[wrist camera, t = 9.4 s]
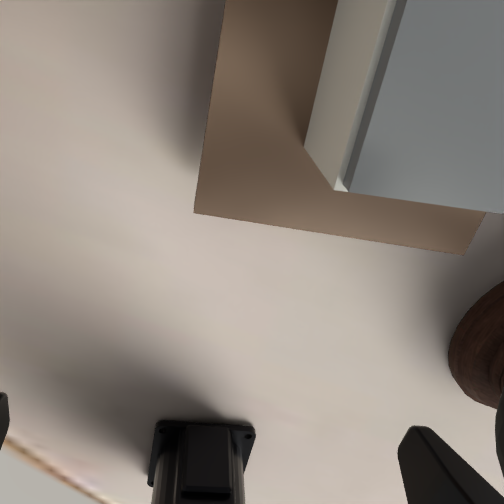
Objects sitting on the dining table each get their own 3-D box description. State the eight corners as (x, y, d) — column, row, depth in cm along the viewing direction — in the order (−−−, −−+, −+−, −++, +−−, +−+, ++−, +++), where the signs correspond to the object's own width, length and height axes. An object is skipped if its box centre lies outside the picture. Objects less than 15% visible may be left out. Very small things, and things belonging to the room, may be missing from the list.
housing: (381, -184, 11) (491, -315, 7) (544, -136, 12) (736, -225, 7) (303, 146, 15) (339, 198, 11) (427, 166, 16) (505, 221, 12)
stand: (432, 225, 21) (463, 255, 18) (196, 186, 19) (193, 212, 16) (635, -212, 13) (736, -267, 11) (279, -358, 11) (299, -469, 9)
